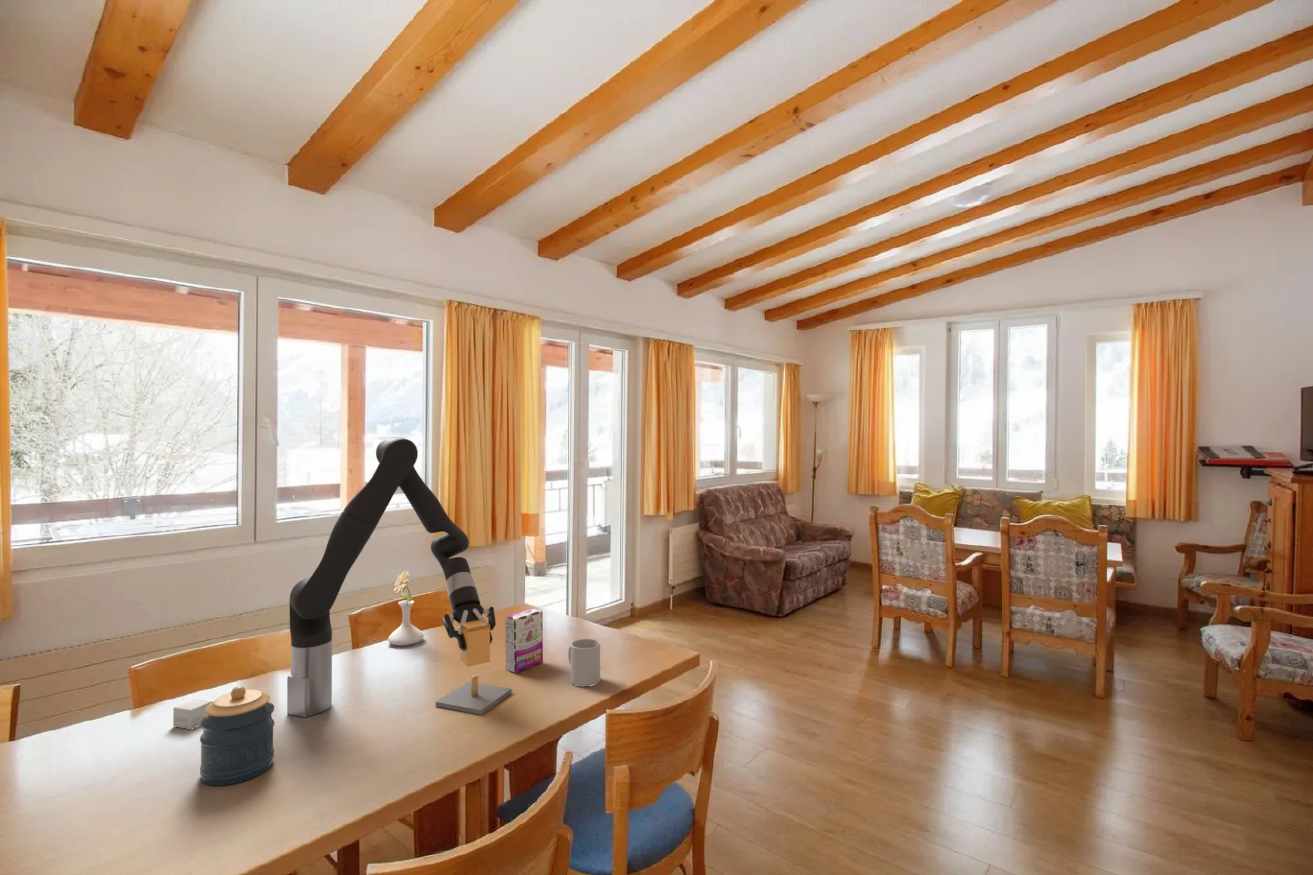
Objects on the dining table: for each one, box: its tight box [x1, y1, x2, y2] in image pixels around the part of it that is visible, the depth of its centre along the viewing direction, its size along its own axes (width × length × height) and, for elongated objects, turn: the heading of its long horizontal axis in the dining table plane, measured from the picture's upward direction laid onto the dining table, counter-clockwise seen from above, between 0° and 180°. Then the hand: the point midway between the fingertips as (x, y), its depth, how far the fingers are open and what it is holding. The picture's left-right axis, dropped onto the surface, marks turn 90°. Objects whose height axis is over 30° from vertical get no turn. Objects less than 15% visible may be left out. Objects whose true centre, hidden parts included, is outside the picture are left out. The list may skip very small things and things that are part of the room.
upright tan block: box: [459, 620, 491, 668], centre depth 165 cm, size 6×6×10 cm
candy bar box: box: [504, 608, 544, 674], centre depth 188 cm, size 11×5×16 cm, turn 143°
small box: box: [172, 698, 213, 730], centre depth 150 cm, size 6×6×5 cm
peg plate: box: [435, 674, 513, 716], centre depth 165 cm, size 14×14×6 cm
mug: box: [567, 638, 601, 687], centre depth 179 cm, size 12×8×11 cm
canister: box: [199, 685, 275, 787], centre depth 130 cm, size 13×13×18 cm
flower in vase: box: [387, 570, 425, 646], centre depth 208 cm, size 13×11×25 cm
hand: (477, 646), depth 163 cm, fingers closed on upright tan block, 6 cm apart
